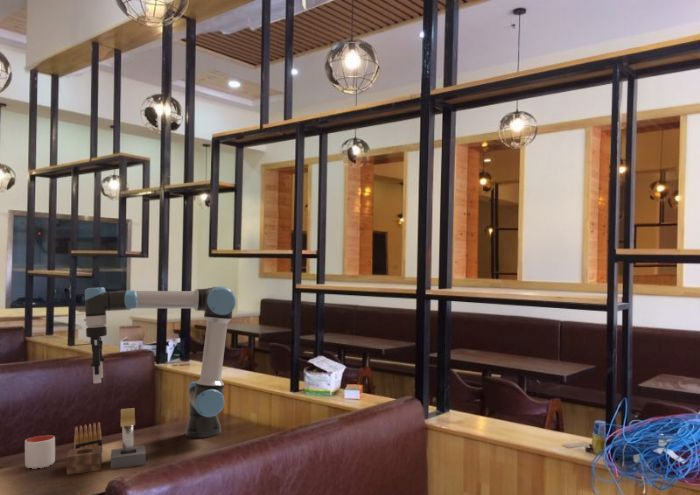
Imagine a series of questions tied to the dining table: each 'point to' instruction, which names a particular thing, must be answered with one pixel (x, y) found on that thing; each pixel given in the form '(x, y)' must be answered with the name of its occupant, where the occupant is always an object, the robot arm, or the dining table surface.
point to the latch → (127, 417)
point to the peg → (128, 439)
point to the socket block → (128, 458)
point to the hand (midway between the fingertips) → (98, 380)
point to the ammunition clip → (87, 437)
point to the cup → (39, 451)
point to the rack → (84, 460)
